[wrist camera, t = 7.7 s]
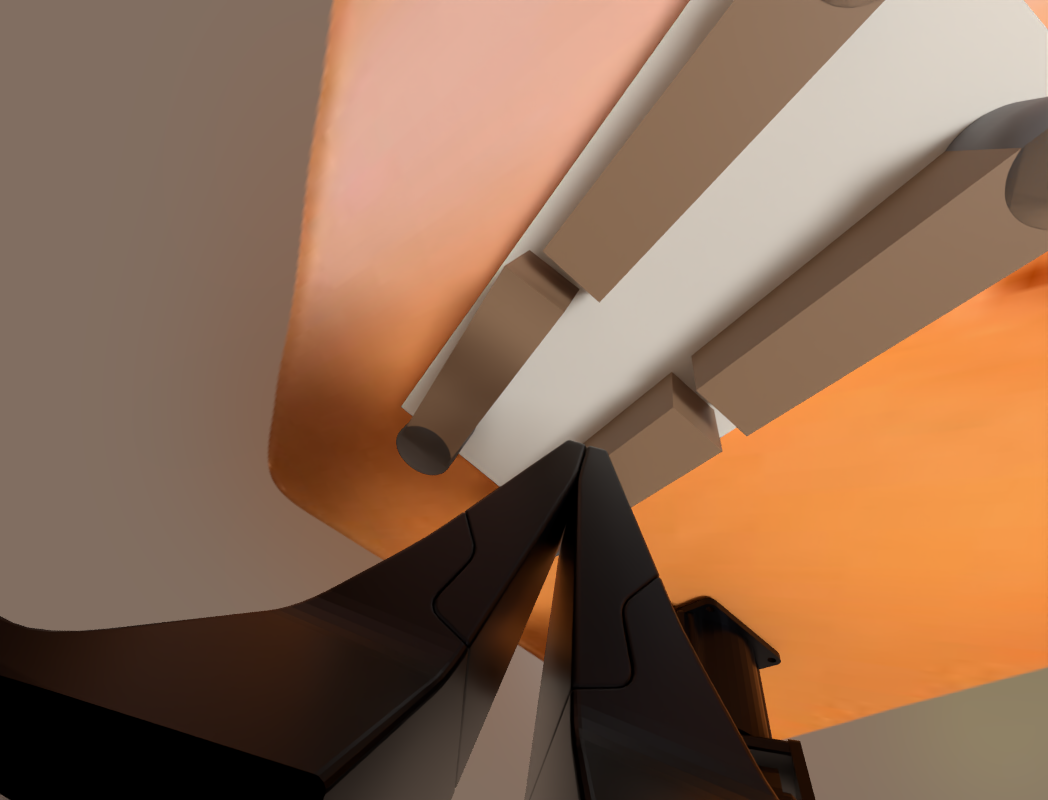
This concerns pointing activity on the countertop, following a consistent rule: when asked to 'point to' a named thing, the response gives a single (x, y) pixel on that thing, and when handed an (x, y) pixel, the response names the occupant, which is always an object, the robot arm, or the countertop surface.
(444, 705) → the robot arm
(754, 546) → the countertop surface
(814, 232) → the tray of grey blocks
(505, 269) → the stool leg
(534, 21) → the countertop surface
